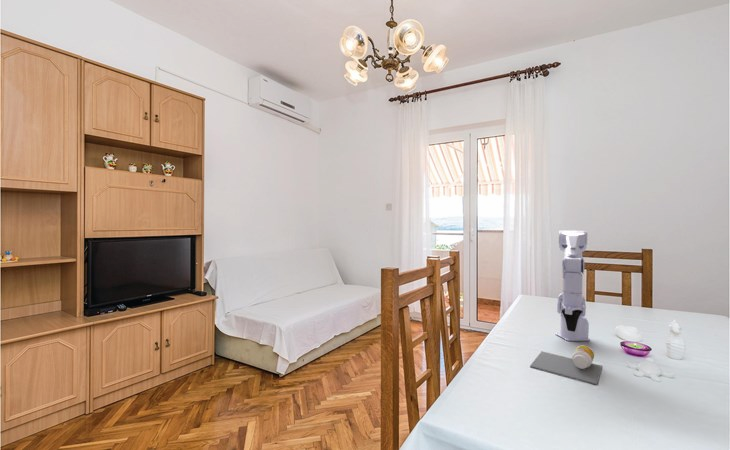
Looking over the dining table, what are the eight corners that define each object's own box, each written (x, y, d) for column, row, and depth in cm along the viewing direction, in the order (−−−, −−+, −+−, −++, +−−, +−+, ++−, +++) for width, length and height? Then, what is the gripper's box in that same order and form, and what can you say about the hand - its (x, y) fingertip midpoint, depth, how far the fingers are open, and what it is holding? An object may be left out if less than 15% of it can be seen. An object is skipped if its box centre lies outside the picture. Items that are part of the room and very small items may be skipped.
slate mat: (541, 352, 121) (541, 351, 121) (602, 366, 109) (602, 365, 109) (530, 367, 109) (530, 365, 109) (596, 385, 97) (596, 383, 97)
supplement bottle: (596, 360, 111) (593, 371, 103) (578, 361, 114) (573, 371, 107) (591, 344, 112) (587, 353, 104) (573, 345, 115) (568, 354, 108)
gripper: (583, 297, 107) (582, 339, 108) (588, 290, 118) (587, 328, 119) (558, 294, 112) (557, 334, 112) (565, 287, 123) (565, 323, 123)
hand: (571, 330), depth 116 cm, fingers closed
